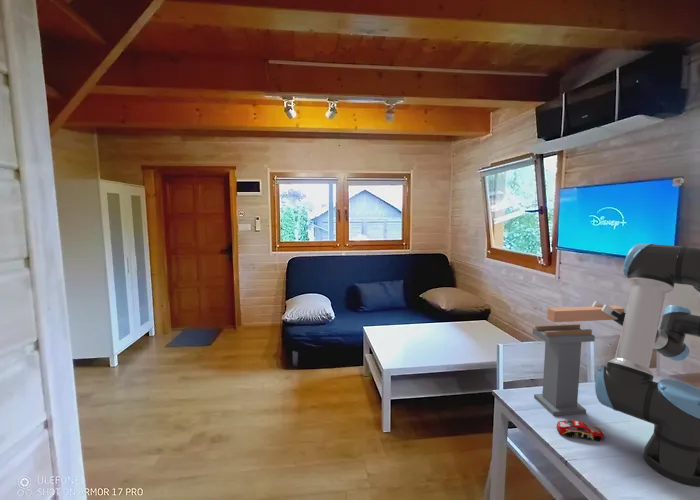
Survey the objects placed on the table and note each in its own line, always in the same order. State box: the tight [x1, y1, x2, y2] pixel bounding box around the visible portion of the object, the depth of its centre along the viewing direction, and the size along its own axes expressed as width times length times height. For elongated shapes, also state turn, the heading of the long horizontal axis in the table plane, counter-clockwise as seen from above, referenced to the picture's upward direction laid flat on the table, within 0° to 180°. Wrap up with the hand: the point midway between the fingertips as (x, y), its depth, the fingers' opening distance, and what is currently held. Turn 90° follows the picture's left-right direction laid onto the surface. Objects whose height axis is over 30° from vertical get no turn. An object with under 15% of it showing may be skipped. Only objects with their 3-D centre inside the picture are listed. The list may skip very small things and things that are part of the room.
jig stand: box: [532, 323, 596, 417], centre depth 137 cm, size 16×12×30 cm
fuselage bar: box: [546, 304, 625, 323], centre depth 135 cm, size 26×4×4 cm, turn 95°
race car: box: [556, 419, 605, 442], centre depth 122 cm, size 13×5×4 cm, turn 72°
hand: (598, 305), depth 136 cm, fingers closed on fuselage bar, 4 cm apart
